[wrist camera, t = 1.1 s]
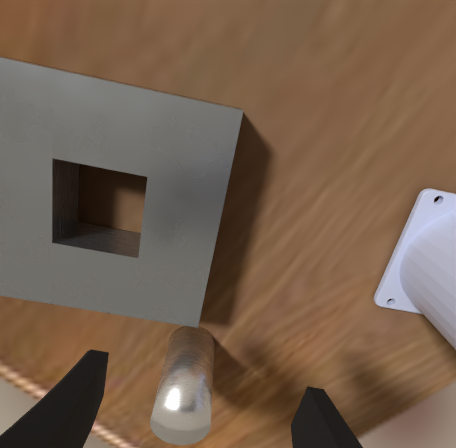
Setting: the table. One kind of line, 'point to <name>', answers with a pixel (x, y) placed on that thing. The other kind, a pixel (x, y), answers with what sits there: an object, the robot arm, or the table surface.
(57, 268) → the square hole block
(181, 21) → the table surface
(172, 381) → the metal cylinder
